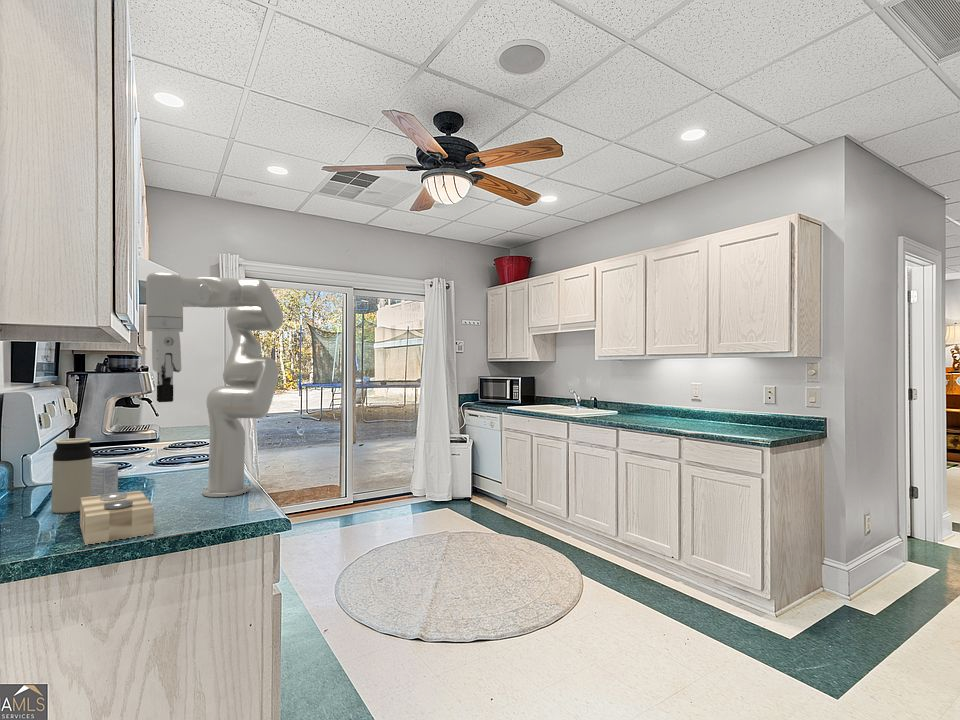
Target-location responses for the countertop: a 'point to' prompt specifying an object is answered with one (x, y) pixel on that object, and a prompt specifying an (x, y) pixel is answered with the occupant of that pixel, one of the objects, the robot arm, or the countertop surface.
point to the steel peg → (113, 496)
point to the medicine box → (104, 479)
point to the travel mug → (71, 474)
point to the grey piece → (118, 505)
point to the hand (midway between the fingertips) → (165, 401)
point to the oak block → (115, 519)
